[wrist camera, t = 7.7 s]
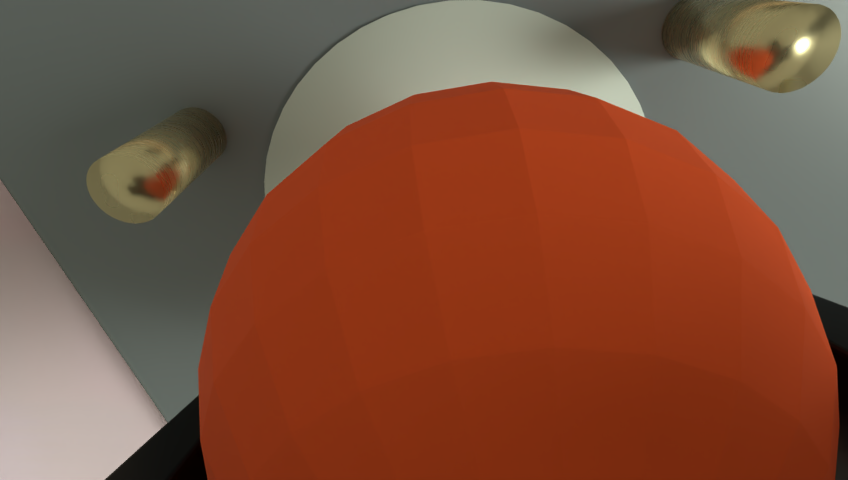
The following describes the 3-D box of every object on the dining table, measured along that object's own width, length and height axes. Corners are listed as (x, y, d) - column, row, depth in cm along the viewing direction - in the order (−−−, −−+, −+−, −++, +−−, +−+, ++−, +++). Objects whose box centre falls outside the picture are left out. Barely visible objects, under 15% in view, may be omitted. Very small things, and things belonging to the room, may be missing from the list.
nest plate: (1069, -625, 6) (1159, -706, 6) (806, 409, 16) (826, 432, 15) (-222, -213, 8) (-289, -233, 8) (236, 491, 18) (228, 515, 17)
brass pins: (727, -14, 9) (849, -6, 7) (693, 373, 14) (756, 466, 11) (159, 114, 10) (71, 164, 8) (312, 432, 15) (289, 528, 13)
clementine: (666, 361, 11) (983, 875, 5) (377, 423, 12) (328, 917, 6) (637, -23, 7) (1955, 47, 1) (218, 113, 8) (-422, 575, 2)
